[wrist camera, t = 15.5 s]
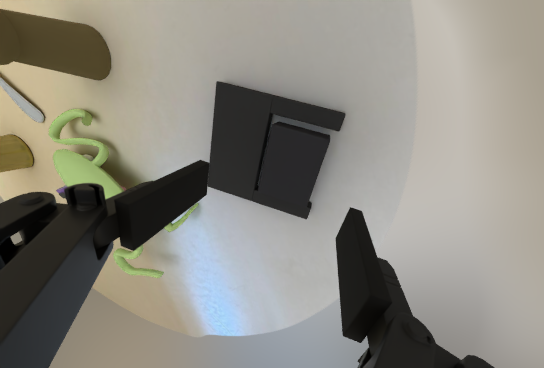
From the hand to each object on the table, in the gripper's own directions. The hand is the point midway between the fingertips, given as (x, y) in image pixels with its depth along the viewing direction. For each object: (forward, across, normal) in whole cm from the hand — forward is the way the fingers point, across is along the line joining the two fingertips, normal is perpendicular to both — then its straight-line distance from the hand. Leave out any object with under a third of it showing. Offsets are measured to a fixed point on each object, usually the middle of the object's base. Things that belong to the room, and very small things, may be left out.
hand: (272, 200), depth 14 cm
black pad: (+11, -4, 0) cm, 11 cm away
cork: (+11, -29, +6) cm, 31 cm away
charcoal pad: (+11, 0, 0) cm, 11 cm away
